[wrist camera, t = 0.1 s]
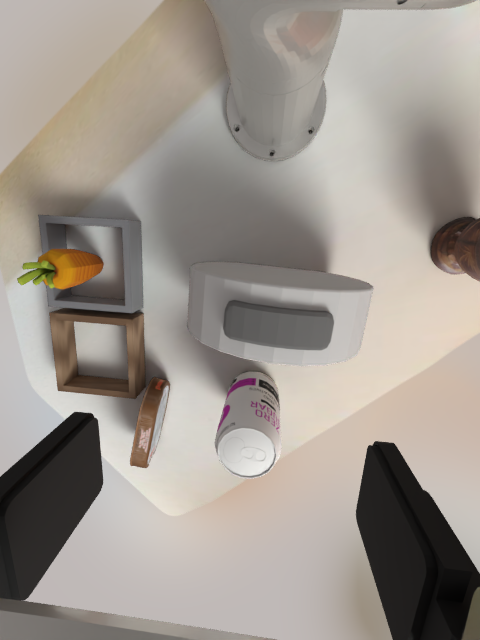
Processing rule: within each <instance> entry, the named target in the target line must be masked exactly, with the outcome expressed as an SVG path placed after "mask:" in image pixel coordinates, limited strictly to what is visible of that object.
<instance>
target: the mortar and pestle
mask: <svg viewBox="0 0 480 640" xmlns="http://www.w3.org/2000/svg"><path fill="white" fill-rule="evenodd" d="M431 256H432V260H433V262H434V264H435V265H436V266H437V267H438V268H439V269H441V270H443V271H445V272H447V273H450V274H464V273H467V274H468V275H469V276H471V277H472V278H474V279H476V280H478V281H480V218H479V219H477V220H476V219H474V218H471V217H464V218H459V219H456V220H454V221H452V222H450V223H448V224H446V225H445V226H444V227H442V228H441V229H440V230H439V231H438V232H437V233H436V235H435V237H434V239H433V242H432V246H431Z"/></svg>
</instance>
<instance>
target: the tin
mask: <svg viewBox="0 0 480 640" xmlns="http://www.w3.org/2000/svg"><path fill="white" fill-rule="evenodd" d="M169 390H170V383H169V381H167V380H163V379H159V378H156V377H153V378H152V380H151V381H150V383H149V385H148V387H147V389H146V392H145V394H144V397H143V400H142V403H141V406H140V410H139V415H138V420H137V425H136V431H135V436H134V442H133V447H132V453H131V458H130V465H131V466H137V467H142V468H147V467H148V466H149V462H150V460H151V458H152V455H153V454H154V452H155V450H156V447H157V444H158V441H159V437H160V433H161V429H162V425H163V420H164V416H165V411H166V406H167V401H168V396H169Z"/></svg>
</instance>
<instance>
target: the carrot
mask: <svg viewBox="0 0 480 640" xmlns="http://www.w3.org/2000/svg"><path fill="white" fill-rule="evenodd" d="M103 265H104V263H103V261H102V260H101V259H100V257H98V256H97V255H94V254H90V253H87V252H84V251H80V250H75V249H51V250H49V251H48V252H46V253H45V254H43V255H42V256H40V257H39V258H38V262H30V263H24V264H23V269H34V268H37V269H36V270H33V271H30V272H28V273H26V274H24V275H22V276H21V277H19V278H18V279H17V280H18V282H19V283H20V284H21V285H24V284H26V283H27V282H29V281H30V280H32V279H34V278H35V277H37V276H38V277H37V278H35V279H34V280H33V283H34V284H35V285H38V284H39V283H40V282H42V281H44V283H45V284H46V285H48V286H49V287H50V288H54V287H55V288H58V289H66V288H70V287H73V286H76V285H79V284H82V283H84V282H86V281H87V280H89V279H91V278H92V277H94V276H96V275H97V274H99V273H100V272H101V271H102V269H103Z"/></svg>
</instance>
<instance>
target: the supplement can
mask: <svg viewBox="0 0 480 640" xmlns="http://www.w3.org/2000/svg"><path fill="white" fill-rule="evenodd" d="M215 447H216V452H217V455H218V456H219V461H220V462H221V464H222V465H223V467H224V468H225V469H226V470H227V471H228V472H230V473H231V474H232V475H235V476H238V477H240V478H248V479H253V478H257V477H261V476H263V475H265V474H266V473H268V472H269V471H270V470H271V469H272V467H273V466H274V465H275V463H276V461H277V460H278V459H279V457H280V453H281V449H282V444H281V425H280V407H279V393H278V388H277V386H276V384H275V382H274V381H273V380H272V379H271V378H270V377H269V376H267V375H265V374H263V373H260V372H252V371H249V372H246V373H242V374H240V375H239V376H237V377H236V378H235V379H234V380H233V381H232V383H231V385H230V387H229V390H228V394H227V398H226V401H225V405H224V408H223V412H222V416H221V419H220V423H219V426H218V430H217V433H216V439H215Z"/></svg>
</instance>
